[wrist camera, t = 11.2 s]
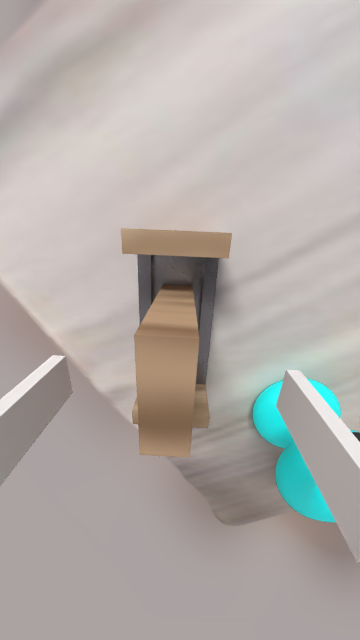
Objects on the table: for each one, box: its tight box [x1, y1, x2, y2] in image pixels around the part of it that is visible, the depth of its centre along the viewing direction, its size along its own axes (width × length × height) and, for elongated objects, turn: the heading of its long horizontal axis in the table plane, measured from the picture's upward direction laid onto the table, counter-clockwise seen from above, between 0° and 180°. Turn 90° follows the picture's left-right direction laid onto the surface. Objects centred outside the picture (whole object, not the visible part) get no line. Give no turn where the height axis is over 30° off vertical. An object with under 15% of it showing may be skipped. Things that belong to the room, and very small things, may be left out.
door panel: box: [134, 284, 199, 457], centre depth 16 cm, size 8×3×12 cm, turn 178°
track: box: [137, 254, 219, 384], centre depth 21 cm, size 14×7×2 cm, turn 178°
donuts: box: [253, 379, 360, 522], centre depth 21 cm, size 10×10×10 cm
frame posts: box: [121, 228, 232, 428], centre depth 19 cm, size 18×7×6 cm, turn 178°
